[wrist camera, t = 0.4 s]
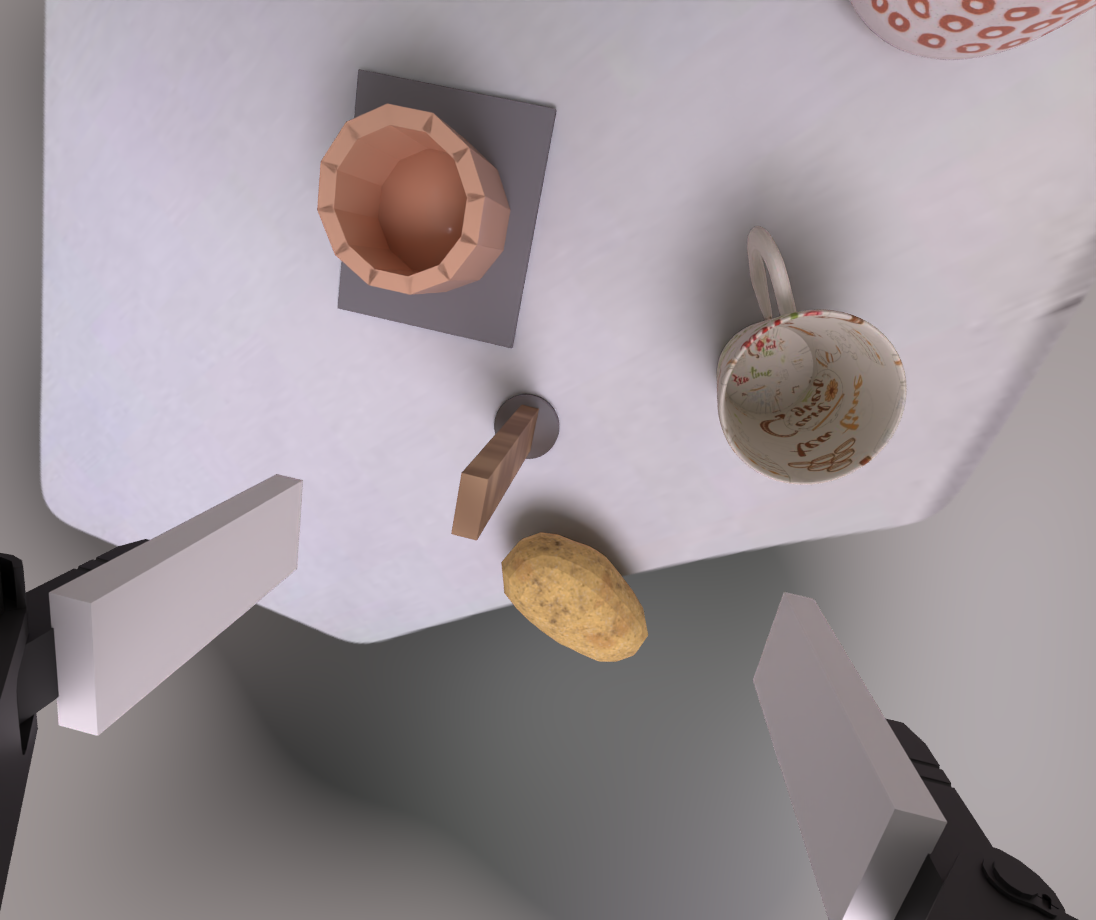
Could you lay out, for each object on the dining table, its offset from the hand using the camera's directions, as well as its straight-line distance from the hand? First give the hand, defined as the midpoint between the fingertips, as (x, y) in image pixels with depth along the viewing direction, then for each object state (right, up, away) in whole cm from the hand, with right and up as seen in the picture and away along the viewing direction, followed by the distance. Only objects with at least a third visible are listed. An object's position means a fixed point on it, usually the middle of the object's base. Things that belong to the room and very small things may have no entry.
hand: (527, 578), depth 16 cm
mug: (+14, +11, +21) cm, 27 cm away
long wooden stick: (-1, +5, +24) cm, 25 cm away
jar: (-6, +18, +21) cm, 28 cm away
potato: (+3, -5, +27) cm, 28 cm away
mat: (-6, +18, +21) cm, 29 cm away
